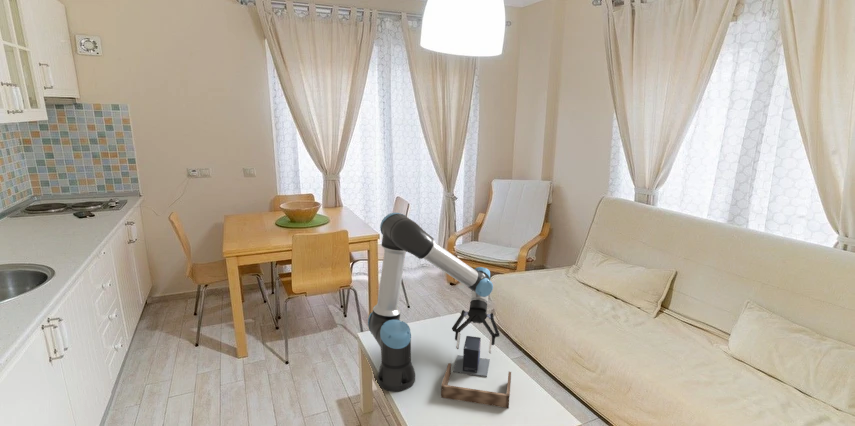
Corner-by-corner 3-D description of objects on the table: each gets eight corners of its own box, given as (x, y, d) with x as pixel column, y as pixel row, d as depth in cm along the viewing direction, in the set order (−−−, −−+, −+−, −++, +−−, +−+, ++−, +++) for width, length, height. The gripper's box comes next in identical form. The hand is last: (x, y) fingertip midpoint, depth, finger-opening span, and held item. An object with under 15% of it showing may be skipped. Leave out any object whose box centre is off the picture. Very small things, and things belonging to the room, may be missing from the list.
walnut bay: (440, 397, 162) (441, 385, 161) (448, 373, 176) (448, 363, 175) (508, 408, 156) (509, 396, 155) (510, 382, 171) (511, 371, 169)
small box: (478, 373, 176) (479, 350, 173) (462, 371, 177) (462, 348, 174) (480, 358, 186) (481, 336, 183) (465, 357, 187) (465, 335, 184)
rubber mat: (452, 372, 177) (452, 371, 177) (457, 356, 189) (457, 355, 188) (486, 377, 174) (486, 375, 174) (489, 360, 185) (489, 359, 185)
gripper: (507, 307, 191) (503, 356, 181) (452, 301, 197) (445, 348, 186) (507, 302, 185) (503, 352, 174) (450, 296, 190) (442, 344, 180)
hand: (473, 350), depth 180 cm, fingers open, 13 cm apart
